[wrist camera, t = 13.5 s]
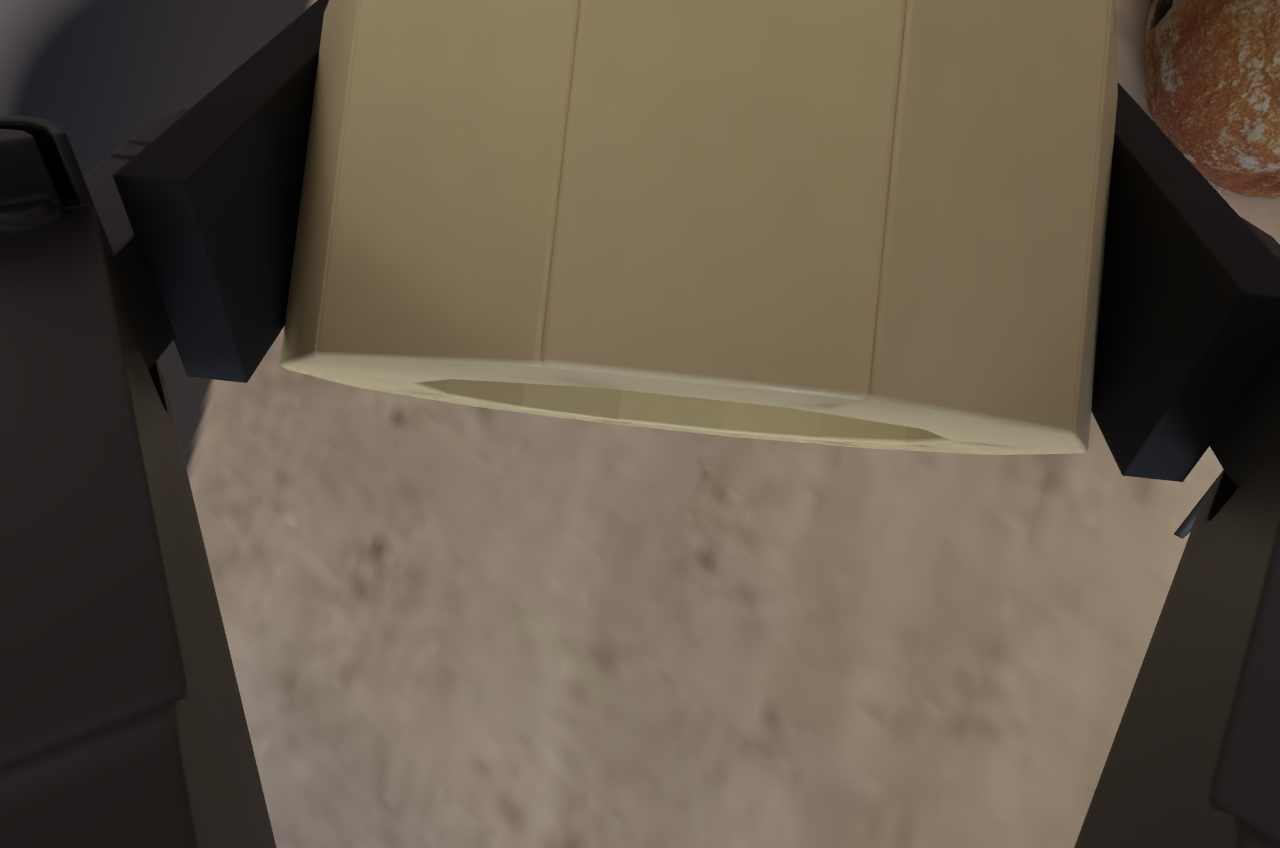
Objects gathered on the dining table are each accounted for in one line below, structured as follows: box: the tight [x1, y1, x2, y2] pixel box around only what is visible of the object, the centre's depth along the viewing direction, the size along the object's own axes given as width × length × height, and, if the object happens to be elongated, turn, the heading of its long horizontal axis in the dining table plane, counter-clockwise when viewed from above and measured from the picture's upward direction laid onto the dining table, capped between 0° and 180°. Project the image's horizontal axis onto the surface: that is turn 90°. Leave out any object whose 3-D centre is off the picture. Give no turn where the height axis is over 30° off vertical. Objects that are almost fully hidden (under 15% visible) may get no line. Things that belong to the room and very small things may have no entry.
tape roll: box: [280, 0, 1118, 455], centre depth 13 cm, size 5×11×11 cm, turn 84°
